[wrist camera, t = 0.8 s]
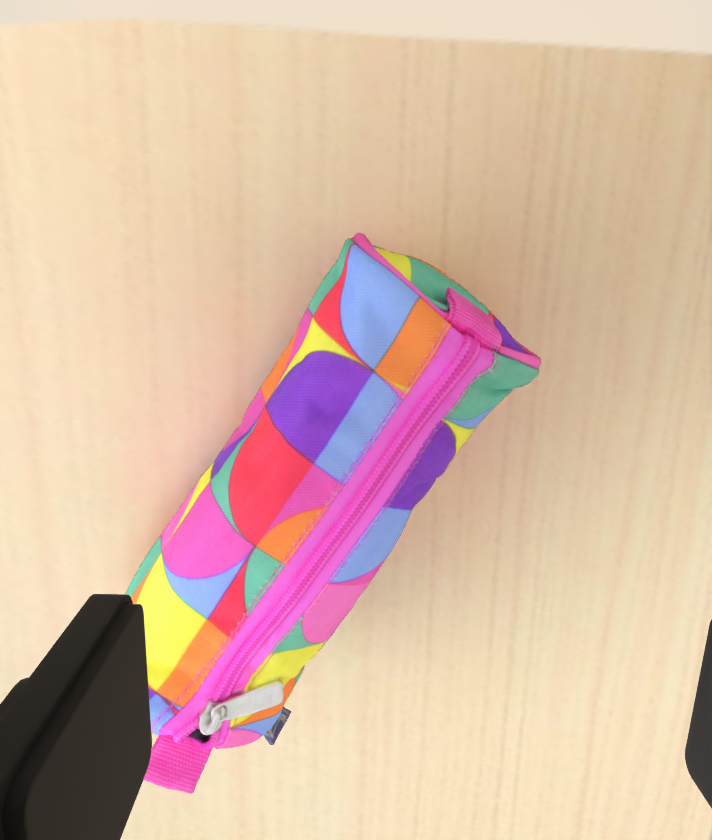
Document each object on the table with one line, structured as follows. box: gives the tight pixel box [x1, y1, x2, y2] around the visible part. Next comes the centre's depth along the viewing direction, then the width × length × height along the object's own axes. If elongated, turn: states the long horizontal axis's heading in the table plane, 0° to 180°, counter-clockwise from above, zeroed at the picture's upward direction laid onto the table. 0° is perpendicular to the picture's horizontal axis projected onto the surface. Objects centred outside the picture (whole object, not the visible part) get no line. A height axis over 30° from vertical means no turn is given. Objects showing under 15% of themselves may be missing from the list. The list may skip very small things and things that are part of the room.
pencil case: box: [125, 233, 541, 793], centre depth 26 cm, size 22×9×9 cm, turn 149°
